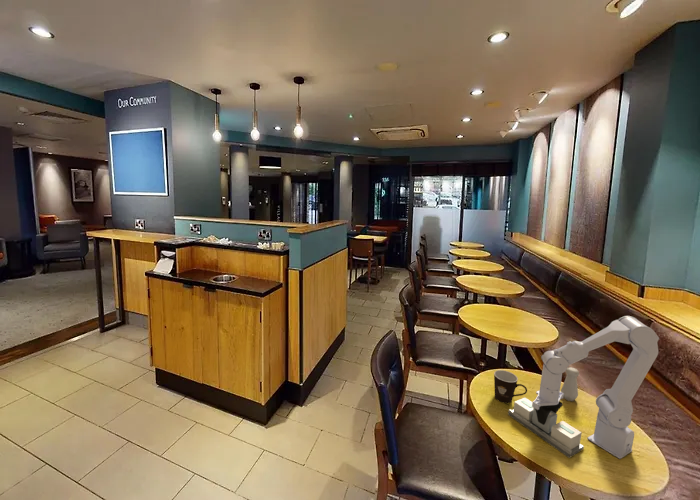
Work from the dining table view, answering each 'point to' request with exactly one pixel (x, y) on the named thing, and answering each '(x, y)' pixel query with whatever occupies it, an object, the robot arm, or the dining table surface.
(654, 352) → the robot arm
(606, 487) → the dining table surface
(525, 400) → the block
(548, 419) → the block
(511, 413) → the rail
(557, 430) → the module
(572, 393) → the salt shaker
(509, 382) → the coffee mug
